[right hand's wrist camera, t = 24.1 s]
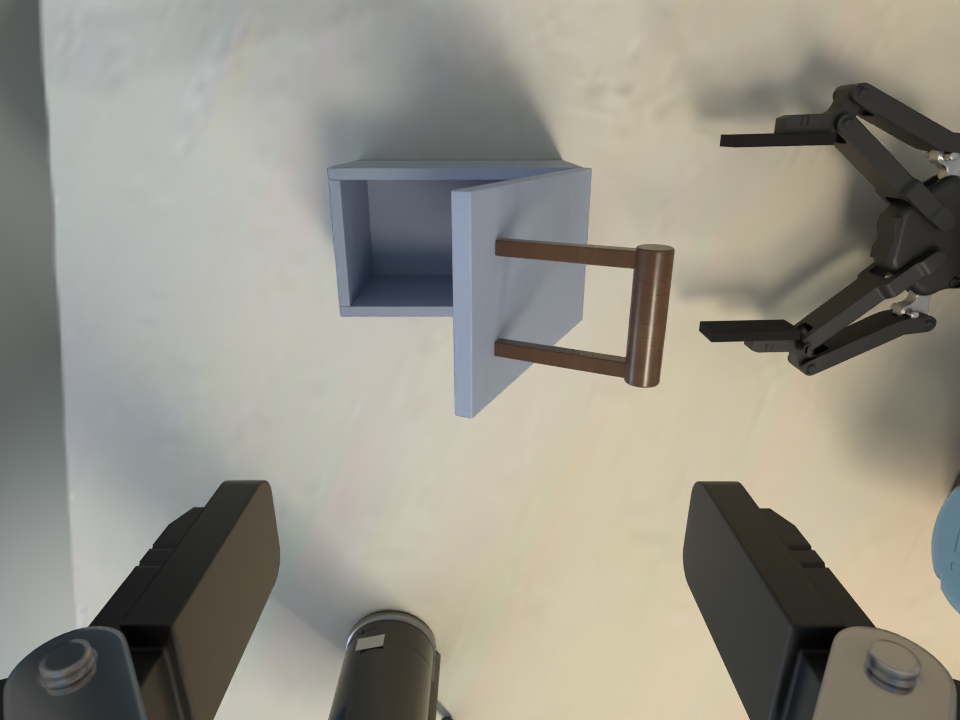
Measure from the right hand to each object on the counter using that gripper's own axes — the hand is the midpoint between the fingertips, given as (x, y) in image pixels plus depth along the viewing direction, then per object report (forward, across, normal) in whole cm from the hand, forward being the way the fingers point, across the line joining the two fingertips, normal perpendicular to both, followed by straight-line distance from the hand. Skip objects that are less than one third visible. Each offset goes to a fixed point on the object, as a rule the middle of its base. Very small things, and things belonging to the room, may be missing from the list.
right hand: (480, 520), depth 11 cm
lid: (+22, -2, 0) cm, 22 cm away
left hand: (+34, -17, 0) cm, 38 cm away
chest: (+40, +2, 0) cm, 40 cm away
